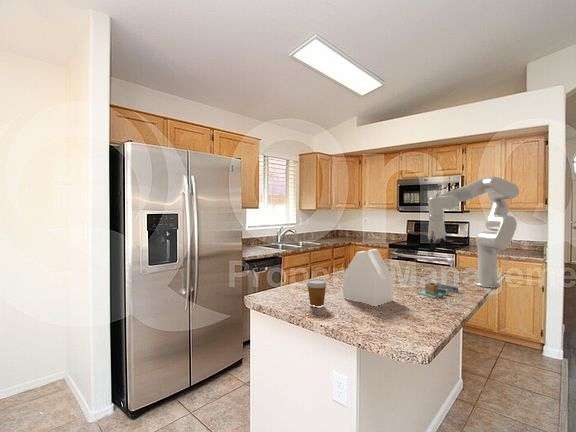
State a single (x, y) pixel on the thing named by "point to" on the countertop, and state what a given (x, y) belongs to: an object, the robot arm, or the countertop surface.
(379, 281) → the milk carton
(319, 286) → the disposable coffee cup
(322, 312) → the countertop surface
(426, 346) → the countertop surface
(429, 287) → the wooden knob block
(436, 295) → the pad
